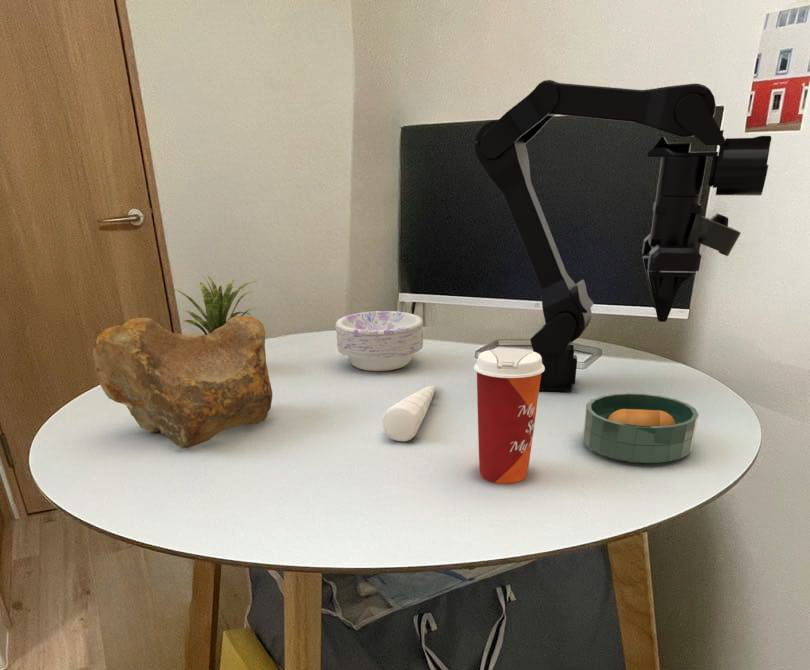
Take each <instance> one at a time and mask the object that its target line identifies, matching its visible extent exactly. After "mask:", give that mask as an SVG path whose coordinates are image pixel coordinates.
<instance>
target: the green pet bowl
mask: <svg viewBox="0 0 810 670" xmlns="http://www.w3.org/2000/svg"><path fill="white" fill-rule="evenodd" d="M620 409H638V410H660V411H664V412H666V413H668V414H670V415H671V416H672V418H673V419H674V421H675V425H670V426H637V425H630V424H623V423H619V422H615V421H611V420H608V417H609V416H610V415H611V414H612V413H613V412H615V411H617V410H620ZM698 419H699V412H698V410H697V409H696V408H695V407H694V406H692V405H690V404H689V403H687V402H685V401H682V400H679V399H677V398H672V397H669V396H664V395H660V394H652V393H640V392H619V393H610V394H605V395H599V396H597V397H595V398H592V399H590V400H589V401H588V402H587V403H586V404H585V413H584V422H583V430H582V431H583V432H582V442H583V444H584V445H585V446H586V448H588V450H591V451H593V452H595V453H597V454H598V455H601V456H604V457H607V458H610V459H612V460H616V461H620V462H626V463H634V464H659V463H668V462H673V461H676V460H680V459H682V458H684V457H685V456H688V455H689V454H690V453H691V451H692V450H693V446H694V440H695V435H696V430H697V426H698V421H699V420H698Z"/></svg>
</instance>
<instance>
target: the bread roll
mask: <svg viewBox="0 0 810 670" xmlns="http://www.w3.org/2000/svg"><path fill="white" fill-rule="evenodd" d="M608 420H611V421H615V422H619V423H623V424H630V425H637V426H670V425H675V421H674V419H673V418H672V416H671V415H670V414H668V413H666V412H664V411H660V410H638V409H620V410H617V411H615V412H613V413H612V414H611V415H610V416H609V417H608Z"/></svg>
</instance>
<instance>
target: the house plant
mask: <svg viewBox="0 0 810 670" xmlns="http://www.w3.org/2000/svg"><path fill="white" fill-rule="evenodd" d="M202 276H203V275H202ZM203 278H204V280H205V281H206V283H207V285H208V287H209V288H208V287H207V286H206V285H205V283H203V282H202V281H199V287H200V290H201V293H202V298H203V303H204V307H205V311H204V310H203V309H202V308H201V306H200V305H199V304H198V303H197V302H196V301H195V300H194V299H193V298H192V297H190V296H189V295H187V294H186V293H184V292H182V291H181V290H178V289H176V288H173V290H174V291H177V292H178V293H180V294H181V295H183V296H184V297H185V299H187V300H189V302H191V303H192V305H194V307H195V308H196V309H197V311H198V312H199V313H200V314H201V316H202V317H203V318H204V319H203V318H202V317H201V316H199V315H198V314H196V313H194V312H193V311H191V310H186V312H187V313H188V314H189V315H190V316H191V317H192V318H193V319H194V320H193V319H184V320H182V322H183V323H187V324H191V325H193V326H195V327H197V328H198V329H200V330H201V331H202V332H203V335H208V334H210V333H212V332H213V331H214V330H216V329H218V328H220V327H222V326H223V325H224V324H226V323H227V322H228V320H229V319H230V318H232V317H237V316H238V315H240V314H241V315H240V316H246V314H247V315H248V316H250V317H253V316H252V315H251V314H250V313H249V311H251V310H254V309H256V307H251V308H248V309H246V310H245V311H236V312H235V310H236V308H237V306H238V304H239V303H240V302H241V300H242V299H243V298H244V297H245V296H246V295H247V294H251V293H252V291H246V292H245V293H243V294H242V295H241V296H240V297H239V298H238V299H237V301H236V303H235V305H234V307H233V309H232V311H231V313H230V316H229V318H228V314H229V311H230V308H231V307H232V304H233V302H234V300H235V298H236V297H237V295H238V294H239V292H241V291H242V290H244V291H245V290H246V289H244V288H245V287H246V286H248V285H250V284H253V283H256V282H257V283H258V280H253V281H249V282H246V283H244V284H241V285H240V286H239V287H238V288H237V289H236V290H234V291H232V289H234V286H233V284H234V283H235V279H233V280H231V281H229V282H228V284H226V287H225V289H224V292H223V286H222V285H219V286H217V285H216V284H215V282H214V280H213V279H212V278H211V276H210V275H207V278H208V280H209V281H210V283H209V281H208V280H207V278H206V277H205V276H203ZM210 284H211V285H210ZM217 287H218V288H217ZM206 330H207V331H206ZM207 332H208V333H207Z"/></svg>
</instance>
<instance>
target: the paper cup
mask: <svg viewBox="0 0 810 670" xmlns="http://www.w3.org/2000/svg"><path fill="white" fill-rule="evenodd" d="M473 369H474V371H475V372H476V395H477V396H476V397H477V398H476V399H477V432H478V433H477V438H478V439H477V441H478V465H479V466H478V467H479V468H478V469H479V475H480V477H481V478H482V479H483V480H485V481H487V482H489V483H493V484H498V485H499V484H501V485H511V484H518V483H521V482H522V481H524V480H526V479H527V476H528V473H529V466H530V459H531V452H532V445H533V437H534V430H535V424H536V416H537V409H538V403H539V393H540V390H539V387H540V380H541V373H542V372H544V370H545V367H544V365H543V364H542V358H541V356H540V354H538V353H536V352H533V350H528V349H523V348H509V347H507V348H493V349H487V350H485V351H482V352H480V353H479V354H478V356H477V361H476V363H475V364H474V365H473Z"/></svg>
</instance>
